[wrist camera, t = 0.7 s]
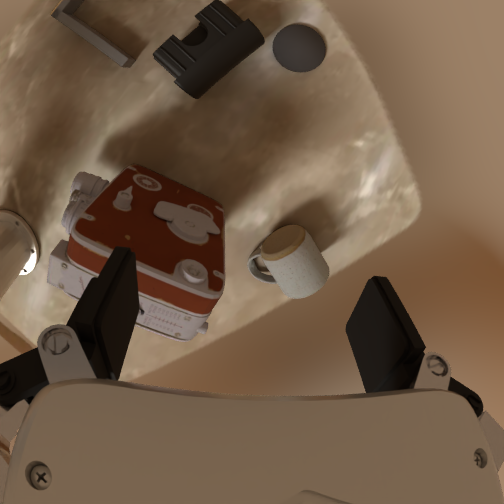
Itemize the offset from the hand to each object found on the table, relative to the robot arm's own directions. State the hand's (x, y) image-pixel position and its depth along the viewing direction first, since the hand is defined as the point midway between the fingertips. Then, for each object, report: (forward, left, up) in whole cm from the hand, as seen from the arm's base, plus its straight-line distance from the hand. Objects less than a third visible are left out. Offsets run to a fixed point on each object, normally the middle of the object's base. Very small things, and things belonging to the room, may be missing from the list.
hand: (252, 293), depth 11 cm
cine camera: (-12, +3, -29) cm, 32 cm away
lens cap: (+15, +3, -29) cm, 33 cm away
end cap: (+7, +10, -29) cm, 31 cm away
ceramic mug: (-7, -17, -29) cm, 34 cm away
